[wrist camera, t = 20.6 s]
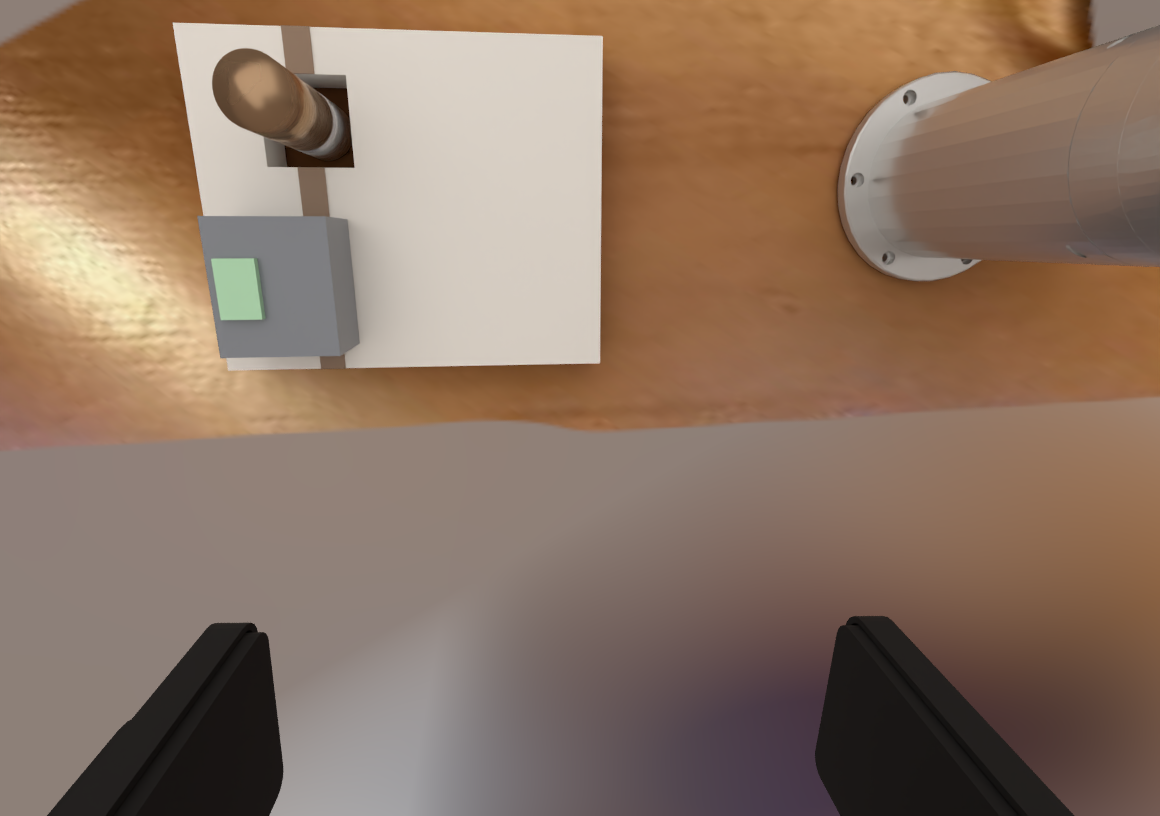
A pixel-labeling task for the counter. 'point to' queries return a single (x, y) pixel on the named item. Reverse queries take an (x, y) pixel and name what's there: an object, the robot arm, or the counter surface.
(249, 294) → the block
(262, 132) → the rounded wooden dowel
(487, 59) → the white flat rectangular board
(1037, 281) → the counter surface
